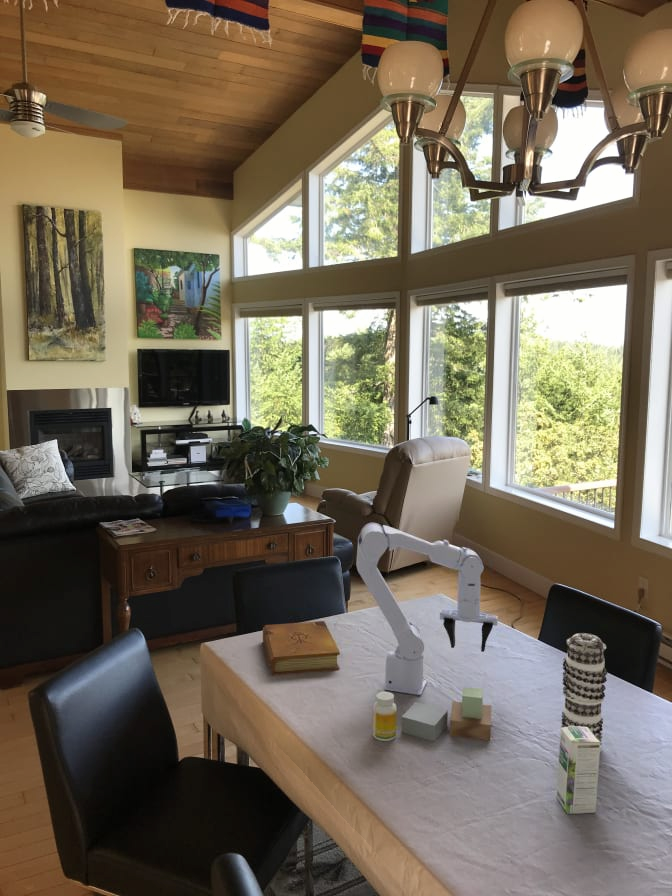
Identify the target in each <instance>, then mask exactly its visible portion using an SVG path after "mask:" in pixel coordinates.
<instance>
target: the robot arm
mask: <svg viewBox="0 0 672 896" xmlns="http://www.w3.org/2000/svg"><path fill="white" fill-rule="evenodd" d="M398 548H402V549H405V550H409V551H413V552H416V553H419V554H423V555H426V556H428V557H429V559H430V562H431V563H434V564H438V565H440V566H443V567H445V568H449V569H451V570H455V571H458V576H457V577H458V578H457V603H456V604H457V606H456V608H457V609H441V610H440V611H439V620H441V621H443V628H444V629H445V631H446V633H447V636H448V638H449V643H450V648H451V649H454V648H455V646H456V633H455V632H456V621H458V622H459V621H460V622H464V623H478V624H482V625H481V647H480V651H481V652H482V653H485V651H486V644H487V639H488V638H489V635H490V634H491V632H492V630H493V626H495V627H496V626H498V621H499V616H498V615H493V614H488V613H485V612H481V585H482V584H481V583H482V581H481V574H483V571H484V569H485V566H484V564H483V561H482V558H480V556H479V555H478V554H477V552H475V551H474V550H472V549H471V548H469V547H464V546H462V547H459V546H457V545H453V544H450V542H449V540H447V539H443V541H441V540H436V541H434V542H430V541H427V540H425V539H422V538H420V537H417V536H415V535H412V534H409V533H407V532H404V531H401V530H399V529H396V528H394V527H391V526H389V525H385V524H383V525H381V524H379V523H376V522H369V523H366V524H365V525H364V526H363V527H362V528H361V531H360V533H359V535H358V537H357V549H356V550H357V551H356V570H357V572H358V574H359V575H360V578H361V579H362V581H363V582H364V584H365V585H366V586H365V587H367V589H368V591H369V592H370V594H371V596H372V598H373V599H374V601H375V602H376V604H377V605H378V608H379V609H380V610H381V613H382V615H383V616H384V618H385V620H386V621H387V623H388V625H389V626H390V628H391V630H392V632H393V635H394V637H395V639H396V641H397V644H398V645H397V647H396V649H395V650H389V651H388V652H387V655H386V660H385V686H384V690H386V691H391V692H398V693H404V694H408V695H416V696H421V695H422V693H423V691H424V689H425V686H426V685H427V680H426V679H424V651H425V642H424V641H423V640H422V637H421V635H420V629H419V628H418V626H417V625H415V624H414V623H412V622H411V621H410V619H409V618H408V616H407V615H406V614H405V612H404V611H403V609H402V607H401V606H400V604H399V603H398V601H397V599H396V597H395V596H394V594H393V592H392V590H391V588H390V587H389V585H388V584H387V582H386V579H385V578H384V577H383V576H382V573H381V572H380V570H379V568H378V563H379V560H380V558H381V557H382V556H383V555H384V553H385V552H386V550H387V549H388V551H389V552H391V551H394V550H396V549H398Z"/></svg>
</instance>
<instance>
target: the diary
mask: <svg viewBox="0 0 672 896" xmlns="http://www.w3.org/2000/svg"><path fill="white" fill-rule="evenodd" d="M335 641H336V640H335V639H334V638H333V636H332V634H331V632H330V630H329V628H328V625H327V624H326V622H325V620H319V621H307V622H306V621H304V622H292V623H289V622H288V623H280V624H279V623H277V624H265V625H264V626H263V627H262V642H263V646H264V650H265V655H266V658H267V662H268V666H269V669H270V674H271V675H272V676H275V675H274V674H284V675H290V674H289V673H295V674H305V672H307V673H317V672H327V671H328V672H329V671H340V669H341V668H340V666H339V664H338V656H340V654H341V652H340V650H339V647H338V645H337V644H336V642H335ZM287 673H288V674H287Z"/></svg>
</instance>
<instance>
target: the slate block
mask: <svg viewBox="0 0 672 896" xmlns="http://www.w3.org/2000/svg"><path fill="white" fill-rule="evenodd" d="M447 726H448V710H447V709H443V708H440V707H437V706H432V705H429V704H424V703H421V702H418V701H415V702H414V703H413V704H412V705H411V706H410V708H409V709H407V710H406V712H405V713H404V714H402V716H401V733H404V734H407V735H411V736H414V737H417V738H419V739H420V738H421V739H425V740H427V741H431V742H436V741H437V739H438V738H439V736H440V735H441V734H442V733H443V731H444V730H445V729H446V728H447Z"/></svg>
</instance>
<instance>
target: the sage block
mask: <svg viewBox="0 0 672 896" xmlns="http://www.w3.org/2000/svg"><path fill="white" fill-rule="evenodd" d="M483 695H484V688H476V687H468V686H463V687H462V697H461V698H462V699H461V702H462V717H470V718H478V719H482V705H483V698H484V697H483Z"/></svg>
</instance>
